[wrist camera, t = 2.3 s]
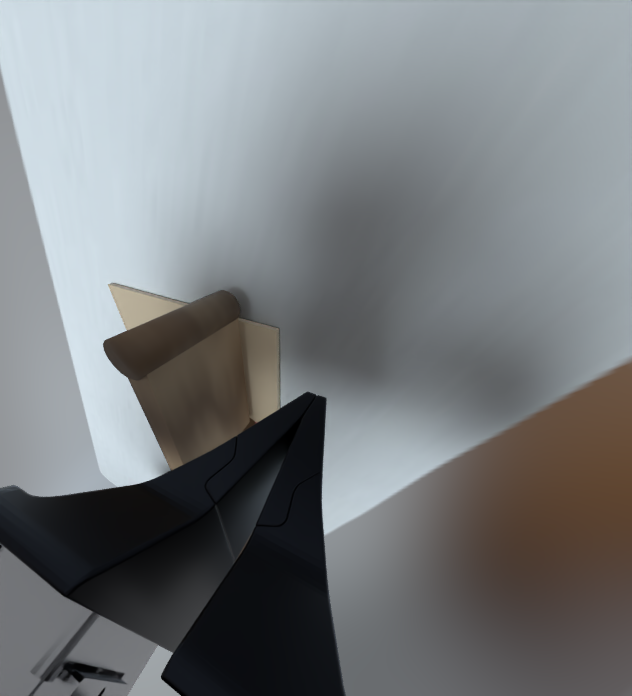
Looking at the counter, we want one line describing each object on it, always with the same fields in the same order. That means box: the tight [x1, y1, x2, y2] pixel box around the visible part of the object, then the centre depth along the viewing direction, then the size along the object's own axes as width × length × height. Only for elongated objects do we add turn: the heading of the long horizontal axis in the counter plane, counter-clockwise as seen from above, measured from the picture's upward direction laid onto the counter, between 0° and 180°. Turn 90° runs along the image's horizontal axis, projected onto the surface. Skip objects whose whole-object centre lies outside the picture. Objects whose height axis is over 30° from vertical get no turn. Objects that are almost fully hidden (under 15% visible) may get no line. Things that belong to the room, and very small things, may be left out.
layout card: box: [108, 283, 280, 423], centre depth 19 cm, size 20×12×1 cm, turn 176°
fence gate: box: [103, 290, 250, 470], centre depth 12 cm, size 9×2×5 cm, turn 176°
